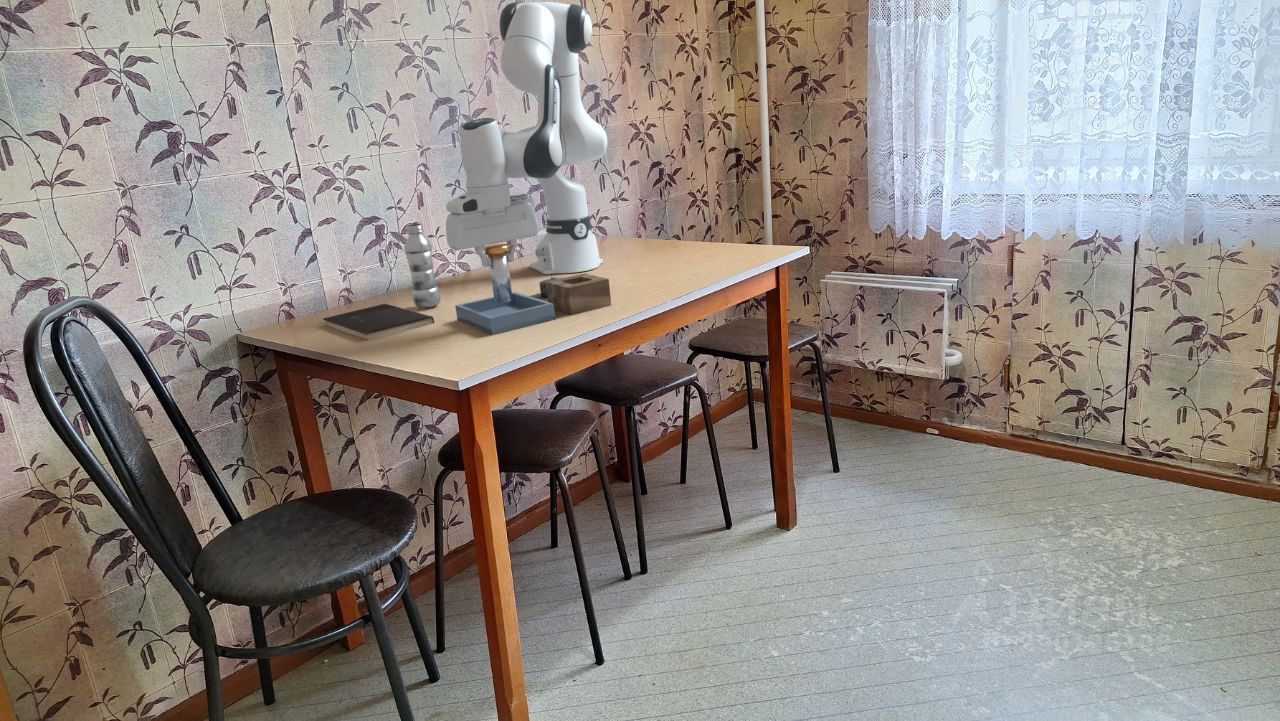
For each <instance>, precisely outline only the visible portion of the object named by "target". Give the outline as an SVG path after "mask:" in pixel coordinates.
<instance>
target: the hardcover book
mask: <svg viewBox="0 0 1280 721" xmlns="http://www.w3.org/2000/svg"><path fill="white" fill-rule="evenodd" d="M322 320H323V321H325V324H326V326H328V327H330V328H333V329H336V330H339V331H341V332H344V333H347V334H350V335H353V336H355V337H358V338H360V339H364V340H367V341H370V340H376V339H379V338H382V337H383V338H384V337H387V336H390V335H394V334H397V333H402V332H405V331H409V330H413V329H417V328H420V327H423V326H427V325H432V324H435V318H434V317H433V316H432V315H428V314H426V313H425V314H424V313H420V312H417V311H415V310H414V311H413V310H410V309H406V308H404V307H399V306H395V305H392V304H388V303H382V304H381V303H380V304H378V305H372V306H368V307H365V308H360V309H356V310H352V311H348V312H345V313H340V314H335V315H332V316H328V317H327V316H326V317H323V319H322Z"/></svg>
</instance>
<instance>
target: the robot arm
mask: <svg viewBox="0 0 1280 721" xmlns="http://www.w3.org/2000/svg"><path fill="white" fill-rule="evenodd" d="M499 32H500V37H501V39H502V41H503V46H502V50H501V56H500V66H501V70H502V74H503V75H504V77H505V78H506V80H507V81H508V83H510V84H511V85H513V86H514V87H515V88H517V89H518V90H520V91H522V92H524V93H528V94H531V95H534V96H536V98H537V99H536V100H537V121H536V122H537V123H536V125H534V126H531V127H526V128H524V129H521V130H518V131H515V132H514V131H513V132H511V131H509V132H508V131H506V130H503V129H501V128H500V127H499V123H498V122H497V119H495V118H491V117H482V118H477V119H473V120H469V121H467V122H465V123H464V124H463V125H462V126H461V128H460V135H459V136H460V137H459V139H460V140H459V141H460V155H461V162H462V168H463V170H464V172H465V176H466V179H465V180H466V181H465V190H466V192H464V193H463V194H460V195H459V196H457V197H455V198H453V199H451V200H448V202H447V203H445V208H446V211H447V212H448V213H449V214H448V216H447V217H446V221H445V233H446V234H445V237H446V242H447V245H448V247H449V248H450V249H452V250H454V251H463V250H466V249H467V250H468V249H473V248H474V249H473V250H474V252H475V253H476V255H477V256H478V257H479V258H480V260H481V265H482V267H483V268H485V267H486V268H487V267H489V266H491V265H492V263H491V258H490V257H488V256H487V255H485V252H484V251H485V248H484V247H485V246H488V245H494V244H502V243H506V244H508V246H509V252H508V253H507V260H508V263H512V262H514V261H515V257H514V254H515V251H516V249H517V246H518V240H521V239H526V238H531V237H537V236H538V234H539V232H540V227H539V221H538V218H537V214H536V211H535V210H536V205H535V199H534V198H533V197H532V196H531V195H529V194H527V193H521V194H515V195H514V194H513V195H511V193H510V186H509V180H508V179H525V178H533V179H536V180H537V181H538V183H539V185H540V186H541V189H542V191H543V196H544V201H545V206H546V212H547V220H545V221H544V223H545V224H544V225H545V227H546V229H545V232H546V233H545V235H544V236H543V238H542V239H541V241H540V242H539V243H538V244H537V246H536V249H535V256H536V258H537V261H533V262H531V263H529V267H530V268H531V269H534V270H535V271H537V272H540V273H541V274H543V275H551V274H552V275H554V274H571V273H580V272H585V271H586V272H587V271H590V270H594V269H597V268H599V267H600V265H601V264H603V263H604V260H603V258H600V256H599V255H600V254H599V248H598V244H597V237H596V234H594V233H593V232H592V231H591V229H592V219H591V215H589V209H588V201H587V200H588V198H587V190H586V187H585V186H584V185H583V184H582V183H581V182H580V181H578V180H576V179H573V178H571V177H567V176H565V175H564V173H563V171H562V169H563V168H562V167H565V166H573V165H582V164H588V163H591V162H594V161H597V160H600V159H602V158H603V157H604V155H605V154H606V152H607V149H608V143H609V142H608V141H609V140H608V136H607V132H606V131H605V129H604V128H603V127H602V125H601V124H600V123H598V122H597V121H595V119H593V118H592V117H591V116H590V115H589V114H588V113H587V111H586V108H585V107H584V104H583V102H582V101H583V100H582V97H581V87H580V85H581V84H580V68H579V67H580V65H579V64H580V63H579V54H578V53H579V52H582V51H584V50H585V49H586V48H587V47H588V46H589V44H590V40H591V37H592V34H593V24H592V20H591V15H590V13H589V11H588V10H587V9H586V7H584V6H582V5H578V4H575V3H571V4H568V3H561V2H554V1H545V2H544V1H539V2H538V1H537V2H536V1H533V2H532V1H531V2H521V1H516V2H515V1H514V2H511V3H508V4H506V5H505V7H504V8H503V9H502V10H501V14H500V17H499Z"/></svg>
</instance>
